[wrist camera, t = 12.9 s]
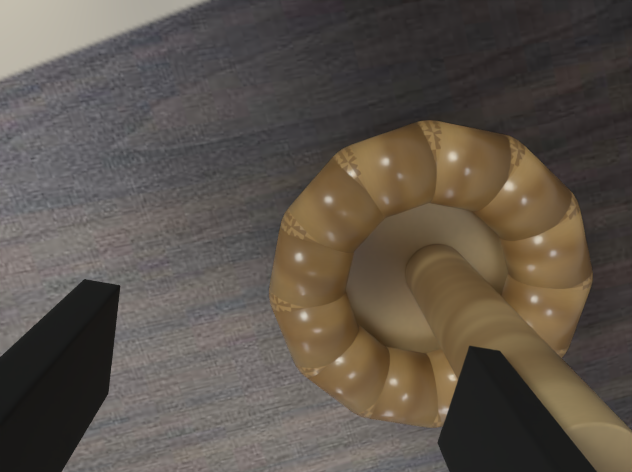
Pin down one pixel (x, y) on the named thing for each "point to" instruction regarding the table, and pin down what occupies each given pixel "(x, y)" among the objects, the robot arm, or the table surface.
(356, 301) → the stand
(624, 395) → the table surface
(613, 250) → the table surface
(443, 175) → the ring
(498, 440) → the robot arm
